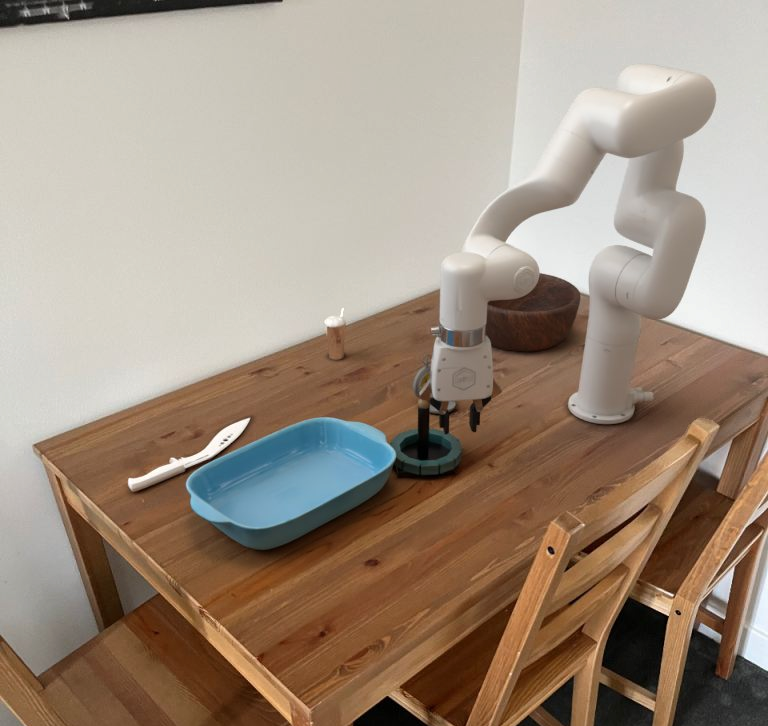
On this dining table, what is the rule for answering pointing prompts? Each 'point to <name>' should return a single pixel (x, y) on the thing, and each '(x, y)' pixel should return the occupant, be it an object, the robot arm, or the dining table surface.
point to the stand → (424, 444)
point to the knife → (189, 458)
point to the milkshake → (335, 336)
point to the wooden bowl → (534, 316)
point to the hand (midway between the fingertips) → (459, 428)
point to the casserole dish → (291, 480)
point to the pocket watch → (423, 378)
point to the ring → (429, 465)
